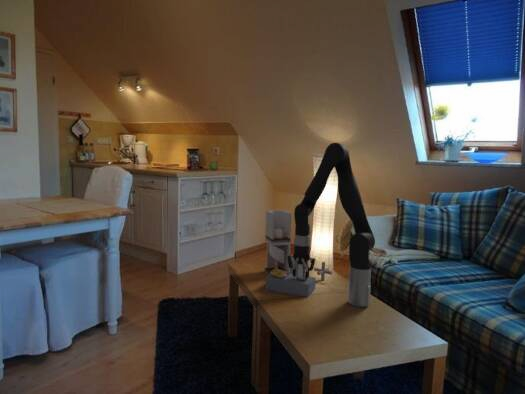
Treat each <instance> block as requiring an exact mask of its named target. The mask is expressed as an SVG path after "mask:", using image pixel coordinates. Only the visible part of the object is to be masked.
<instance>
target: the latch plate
mask: <svg viewBox="0 0 525 394" xmlns="http://www.w3.org/2000/svg"><path fill="white" fill-rule="evenodd" d="M289 273H290V271H289V272H286V271H283V270H280V269H278V268H275V269H274V270H272V271H271V272H270V274H271V275H274V276H276V277H279V278H281V279H284V278H285V277H286V276H288V275H289Z"/></svg>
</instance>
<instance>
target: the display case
mask: <svg viewBox="0 0 525 394" xmlns="http://www.w3.org/2000/svg"><path fill="white" fill-rule="evenodd" d="M292 215H293V213H292V212H290V211H287V210H285V209H277V210H276V209H273V210H271V209H270V210H269V209H268V210H266V211H265V239H264V240H265V242H266V244H267V245H266V267H264V273H265V274H266V275H267V276H269V275H270V272H271V271H272V270H274V269H275V268H278V269H280V270H283V271H286V272H289V273H290V268H289V264H288V258H287V257H288V256H289V255H291V243H292V241H291V240H292V239H291V238H292Z"/></svg>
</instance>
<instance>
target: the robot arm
mask: <svg viewBox="0 0 525 394" xmlns="http://www.w3.org/2000/svg"><path fill="white" fill-rule="evenodd" d="M334 168H335V172H336V174H337V175H336V176H337V191H338V197H339V199H340V204H341V206H342V209H343V210H344V211H345V213H346V215H347V216H348V219H350V221H351V223H352V225H353V229H354V234H353V235H351V237H350V239H349V245H348V248H349V249H348V258H349V283H348V303H347V304H349V305H351V306H353V307H356V308H368V307H369V305H370V303H371V301H370V300H371V290H372V289H371V287H372V286H371V285H372V283H371V280H372V278H371V274H372V261H371V260H370V251H372V249H373V248H374V247H375V244H376V239H375V236H374V233H373V231H372V228H371V226H370V223H369V220H368V217H367V214H366V210H365V207H364V203H363V199H362V196H361V193H360V189H359V187H358V183H357V180H356V178H355V175H354V173H353V172H354V171H353V170H352V164H351V159H350V152H349V149H348V147H347V146H345V144H343V143H339V142H332V143H330V144H328V146H327V147H326V149H325V151H324V154H323V156H322V159H321V162H320V164H319V166H318V168H317V171H316V172H315V174H314V176H313V178H312V179H311V182H310V183H309V185H308V187H307V189H306V190H305V192H304V195H303V196H304V197H303V198H302V201H300V203H298V204H297V205H296V206H295V208H294V213H293V214H294V216H293V217H294V222H295V228H294V240H293V254H290V255H289V256H288V257H287V258H288V264H289V268H292V269H293V273H292V275H293V277H296V267H297V264H303V265H304V267H305V279H307V278H308V277H310V272H311V271H314V268H315V263H316V258H315V257H314V258H313V257H311V256H310V248H311V247H310V246H311V245H310V244H311V237H310V236H311V231H310V229H311V226H310V225H311V224H310V223H309V216H310V215H311V214H312V213H313V211H314V209H315V207H316V204H317V202H318V200H319V199H320V197H321V195H322V194H323V192H324V190H325V188H326V186H327V184H328V180H329V177H330V176H331V173H332V171H333V169H334ZM293 258H294V260H295V263H294V265H293V264H292V259H293ZM309 262H310V265H309Z"/></svg>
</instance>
